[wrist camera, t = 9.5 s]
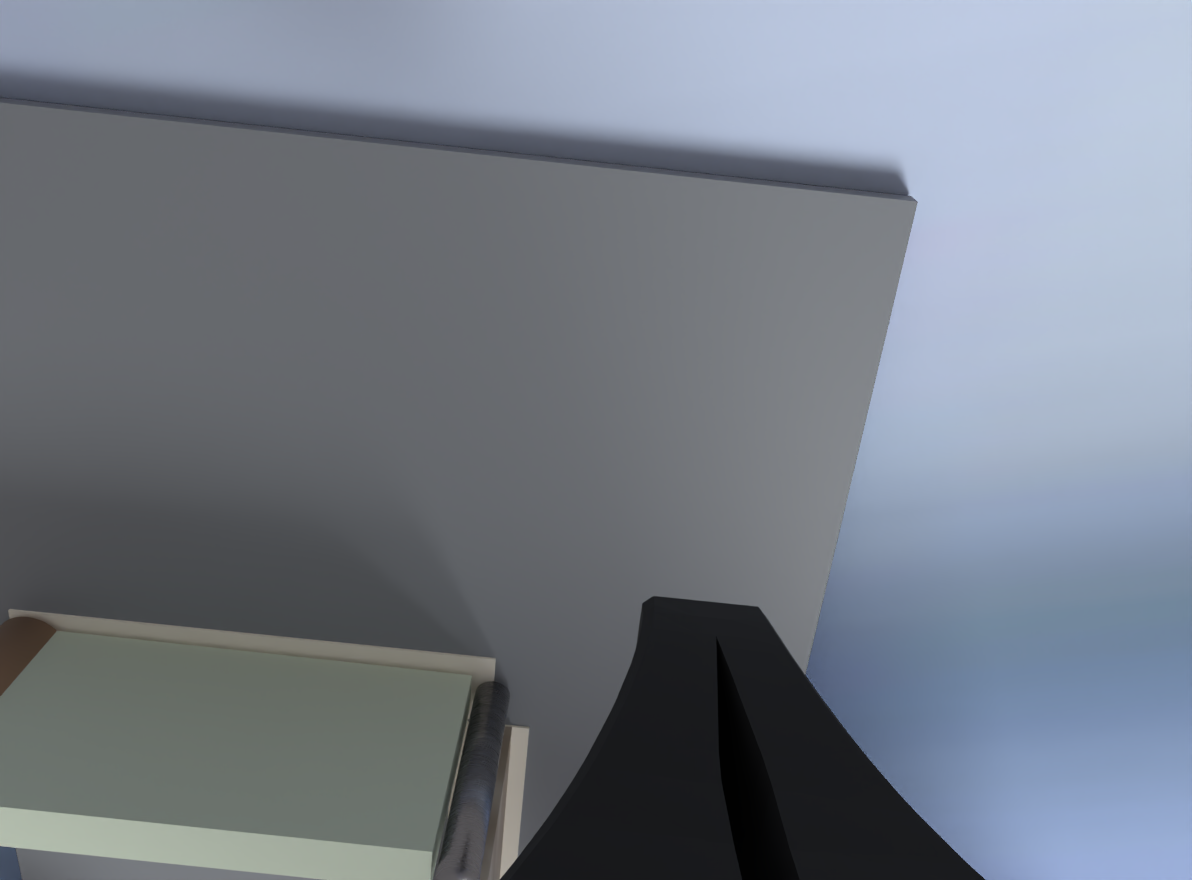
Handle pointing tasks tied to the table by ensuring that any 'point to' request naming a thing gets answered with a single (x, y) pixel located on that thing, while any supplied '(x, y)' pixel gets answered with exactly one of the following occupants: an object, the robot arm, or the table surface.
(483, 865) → the fence fixed section
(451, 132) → the table surface
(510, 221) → the board
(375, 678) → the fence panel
